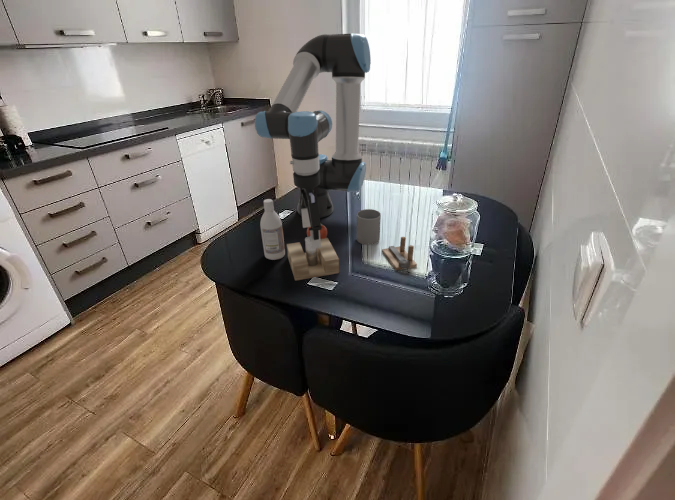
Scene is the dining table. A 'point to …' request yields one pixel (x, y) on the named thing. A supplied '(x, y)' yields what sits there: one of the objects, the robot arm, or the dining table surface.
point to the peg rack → (400, 256)
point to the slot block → (325, 266)
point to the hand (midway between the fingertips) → (311, 236)
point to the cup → (368, 226)
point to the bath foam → (272, 232)
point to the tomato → (322, 232)
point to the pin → (310, 253)
